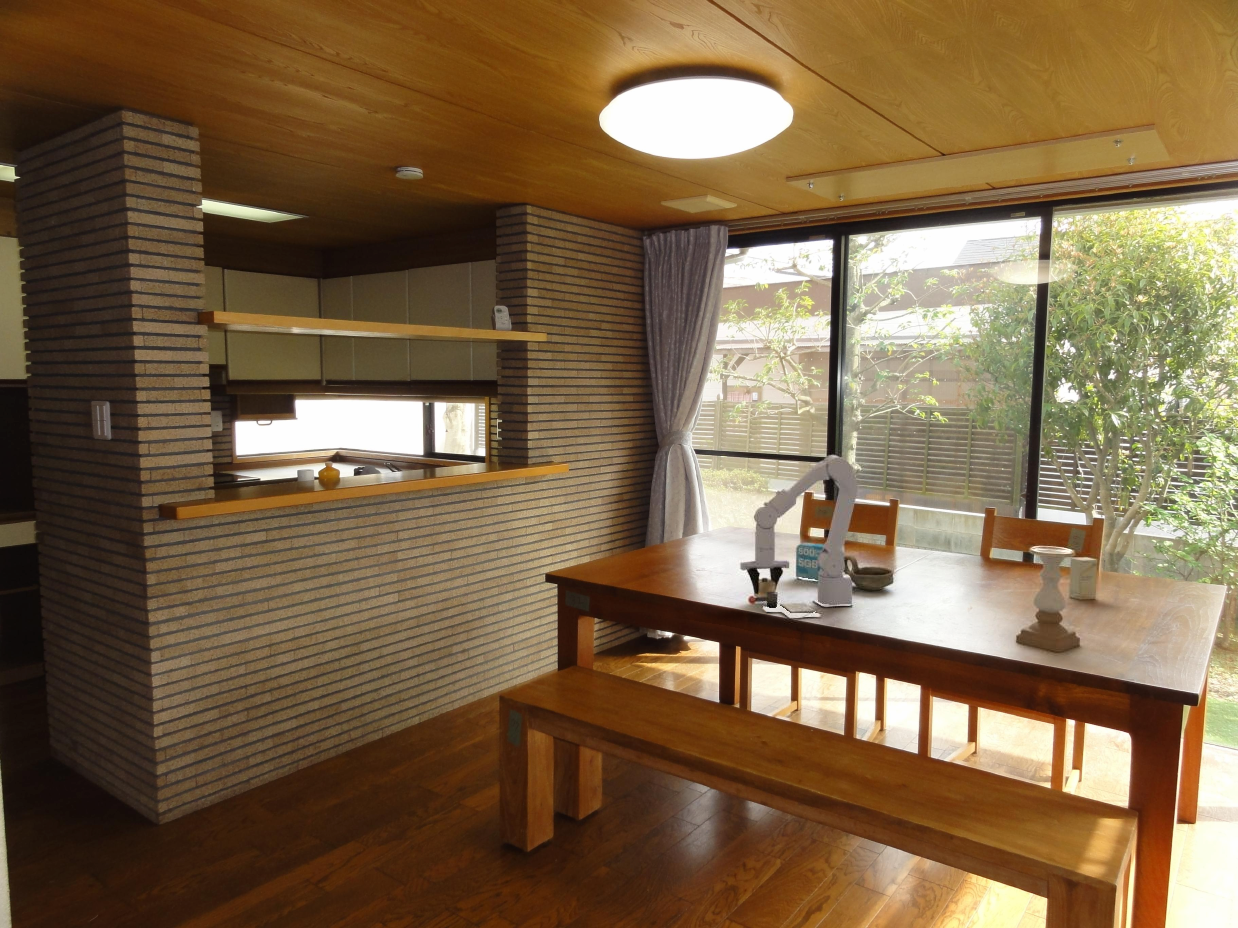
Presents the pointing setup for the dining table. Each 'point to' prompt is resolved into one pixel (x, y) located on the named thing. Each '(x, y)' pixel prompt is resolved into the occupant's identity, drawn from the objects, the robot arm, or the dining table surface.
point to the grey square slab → (798, 608)
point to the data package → (808, 560)
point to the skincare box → (1083, 578)
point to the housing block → (765, 587)
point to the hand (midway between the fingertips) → (764, 592)
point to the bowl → (868, 575)
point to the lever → (766, 599)
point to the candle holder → (1049, 605)
